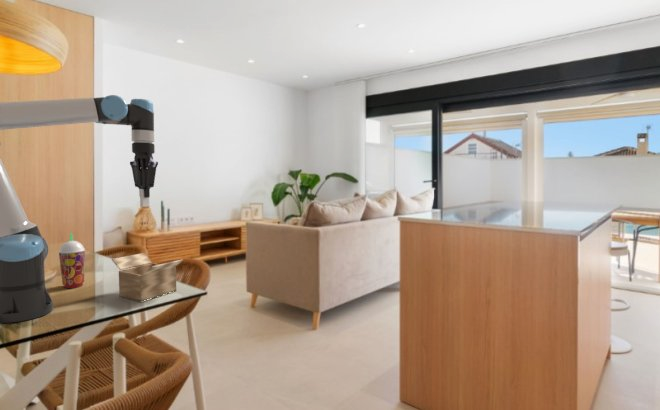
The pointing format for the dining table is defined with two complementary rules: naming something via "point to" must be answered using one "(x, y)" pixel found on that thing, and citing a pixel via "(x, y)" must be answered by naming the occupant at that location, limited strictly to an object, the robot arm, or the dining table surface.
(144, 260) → the far flap
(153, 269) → the near flap
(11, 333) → the dining table surface
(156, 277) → the carton
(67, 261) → the smoothie
